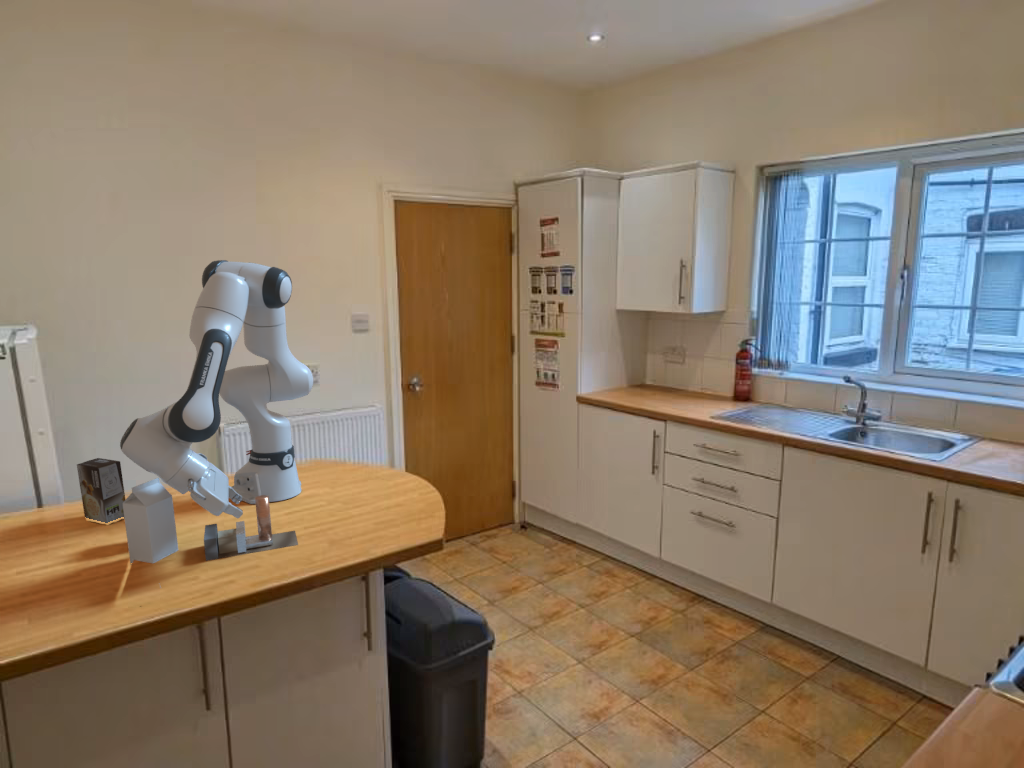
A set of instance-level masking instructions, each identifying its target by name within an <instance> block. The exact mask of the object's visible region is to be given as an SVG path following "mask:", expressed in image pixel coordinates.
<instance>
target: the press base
mask: <svg viewBox="0 0 1024 768" xmlns="http://www.w3.org/2000/svg"><path fill="white" fill-rule="evenodd" d="M218 531H219V530H218V524H217V523H211V524H206V525H205V526H204V534H203V535H204V536H203V547H204V554H205V562H208V561H214V560H219V559H223V558H224V559H225V558H230V557H236V556H242V555H247V554H254V553H260V552H266V551H271V550H277V549H282V548H283V549H284V548H288V547H295V546H299V542H298V538H297V533H296V530H291V531H290V530H289V531H283V532H279V533H272V539H273V545H267V546H261V547H255V548H249V549H246V552H241V553H238V551H234V552H228V553H222V554H219V545H218Z"/></svg>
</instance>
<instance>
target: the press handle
mask: <svg viewBox="0 0 1024 768" xmlns="http://www.w3.org/2000/svg"><path fill="white" fill-rule="evenodd" d="M255 502H256V504H255V512H256V521H257V522H256V523H257V524H256V525H257V533H258V534H254V535H249V536H247V535H246V527H245V526H246V525H245V520H242V521H236V522H235V529H236V537H237V547H238V553H241V552H246V549H249V548H255V547H261V546H267V545H273V539H272V534H273V530H272V521H271V508H270V502H269V496H267V495H261V496H257V497H256V498H255Z"/></svg>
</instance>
